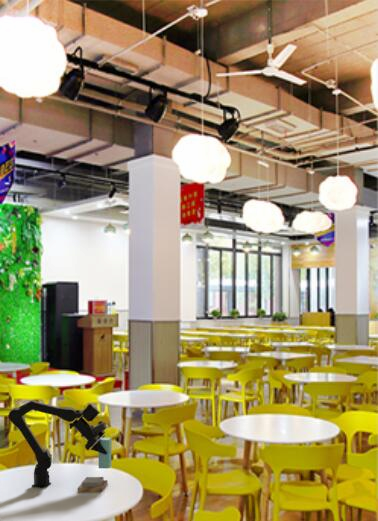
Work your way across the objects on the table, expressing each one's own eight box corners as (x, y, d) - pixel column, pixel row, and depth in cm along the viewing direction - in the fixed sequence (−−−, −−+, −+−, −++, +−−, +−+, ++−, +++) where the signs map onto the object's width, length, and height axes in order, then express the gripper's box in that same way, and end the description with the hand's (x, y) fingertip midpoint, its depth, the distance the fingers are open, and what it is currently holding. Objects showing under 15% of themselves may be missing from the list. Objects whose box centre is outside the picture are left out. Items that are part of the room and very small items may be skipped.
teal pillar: (98, 468, 271) (98, 440, 272) (101, 465, 276) (101, 437, 277) (109, 468, 271) (108, 440, 272) (111, 465, 276) (111, 437, 277)
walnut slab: (77, 493, 258) (77, 488, 258) (84, 485, 269) (84, 480, 269) (101, 493, 257) (101, 487, 257) (107, 485, 268) (107, 480, 268)
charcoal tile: (81, 487, 259) (81, 482, 260) (86, 481, 267) (86, 477, 268) (99, 486, 259) (99, 482, 259) (103, 481, 267) (103, 477, 267)
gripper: (91, 420, 266) (115, 444, 264) (100, 412, 285) (123, 435, 283) (74, 438, 266) (98, 462, 264) (85, 429, 285) (107, 452, 283)
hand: (107, 452), depth 274 cm, fingers closed on teal pillar, 5 cm apart
